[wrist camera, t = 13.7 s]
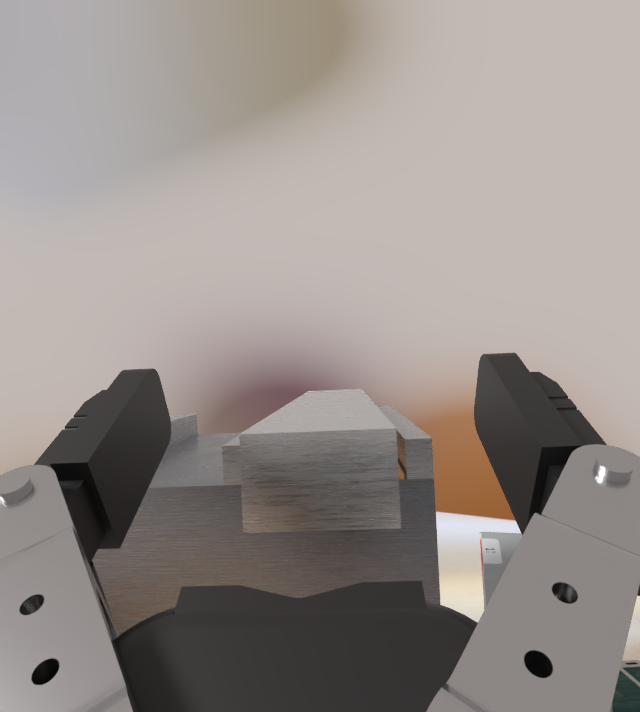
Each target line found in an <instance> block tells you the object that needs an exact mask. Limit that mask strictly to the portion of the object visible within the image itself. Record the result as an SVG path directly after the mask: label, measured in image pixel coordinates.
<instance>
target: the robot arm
mask: <svg viewBox="0 0 640 712" xmlns="http://www.w3.org/2000/svg"><path fill="white" fill-rule="evenodd" d="M474 419H475V426H476V430H477V433H478V435H479V438H480V440H481V442H482V445H483V447H484V449H485V452H486V454H487V456H488V458H489V461H490V463H491V465H492V467H493V469H494V472H495V474H496V476H497V478H498V481H499V483H500V485H501V488H502V490H503V492H504V494H505V497H506V499H507V501H508V503H509V506H510V508H511V511H512V513H513V515H514V517H515V520H516V522H517V524H518V526H519V529H520V531H521V533H522V538H521V539H520V541H519V543H518V545H517V547H516V549H515V551H514V553H513V555H512V557H511V559H510V561H509V563H508V565H507V567H506V569H505V571H504V573H503V575H502V577H501V579H500V581H499V583H498V585H497V587H496V589H495V591H494V593H493V595H492V597H491V598H490V600H489V602H488V604H487V606H486V608H485V610H484V612H483V614H482V616H481V618H480V620H479V622H478V623H477V622H475V621H474V620H472V619H470V618H469V617H467V616H465V615H463V614H461V613H459V612H457V611H455V610H453V609H450V608H448V607H445V606H442V605H439V604H436V603H432V602H428V601H425V596H424V590H423V585H422V581H395V582H361V583H357V584H353V585H350V586H346V587H342V588H338V589H335V590H331V591H327V592H323V593H320V594H316V595H312V596H308V597H304V598H294V597H289V596H285V595H280V594H276V593H271V592H267V591H263V590H258V589H254V588H250V587H245V586H241V585H227V586H185V587H181V590H180V594H179V597H178V600H177V604H176V607H175V608H171V609H168V610H165V611H163V612H160V613H157V614H155V615H153V616H151V617H149V618H147V619H145V620H143V621H141V622H139V623H137V624H136V625H134V626H132V627H131V628H129V629H128V630H126V631H125V632H123V633H122V634H121V635H120V633H119V631H118V628H117V625H116V623H115V620H114V617H113V614H112V612H111V609H110V606H109V603H108V601H107V598H106V595H105V592H104V590H103V587H102V584H101V581H100V579H99V576H98V573H97V570H96V568H95V565H94V563H93V561H92V559H93V557H94V556H95V554H96V552H97V550H98V549H118V548H120V547H121V545H122V543H123V541H124V539H125V536H126V534H127V532H128V530H129V528H130V526H131V524H132V522H133V519H134V517H135V515H136V513H137V511H138V509H139V507H140V505H141V502H142V500H143V498H144V496H145V494H146V492H147V490H148V488H149V485H150V483H151V481H152V479H153V477H154V475H155V473H156V471H157V468H158V466H159V464H160V462H161V460H162V458H163V456H164V454H165V451H166V449H167V447H168V445H169V442H170V438H171V421H170V416H169V412H168V408H167V405H166V401H165V397H164V393H163V389H162V385H161V382H160V378H159V375H158V373H157V371H156V370H155V369H135V370H123V371H121V373H120V374H119V375H118V377H117V378H116V379H115V380H114V381H113V383H112V384H111V385H110V387H109V388H108V389H107V390H102V391H101V392H99V393H98V394H96V395H95V396H93V397H92V398H90V399H89V400H87V401H86V402H85V403H84V404H83V405H82V406H81V408H80V409H79V410H78V411H77V412H76V414H75V415H74V418H72V419H71V420H70V421H69V422H68V423H67V425H66V426H65V430H62V431H61V432H60V433H59V435H58V436H57V437H56V438H55V439H54V441H53V442H52V443H51V444H50V446H49V447H48V448H47V449H46V450H45V452H44V453H43V454H42V455H41V457H40V458H39V459H38V460H37V462H36V463H35V464H34V465H29V466H24V467H20V468H17V469H14V470H11V471H9V472H7V473H4V474H2V475H0V712H610V709H611V705H612V701H613V696H614V692H615V688H616V684H617V679H618V675H619V671H620V666H621V662H622V658H623V654H624V649H625V645H626V641H627V636H628V632H629V628H630V623H631V619H632V615H633V611H634V606H635V602H636V598H637V595H638V596H640V457H639V456H637V455H635V454H633V453H631V452H629V451H626V450H624V449H621V448H617V447H614V446H608V445H606V443H605V442H604V441H603V440H602V438H601V437H600V436H599V435H598V433H597V432H596V431H595V430H594V428H593V427H592V426H591V425H590V423H589V422H588V421H587V420H586V419H585V417H584V416H583V415H582V413H581V412H580V411H579V410H577V408H576V406H575V405H574V404H573V402H572V401H571V400H570V399H568V396H567V395H566V393H565V392H564V391H563V390H562V388H561V387H560V386H559V385H558V383H556V382H555V381H553V380H551V379H550V378H548V377H547V376H545V375H543V374H542V373H540V372H529V370H528V369H527V368H526V366H525V365H524V364H523V362H522V361H521V359H520V358H519V357H518V356H517V354H516V353H501V354H499V353H498V354H483V355H482V356H481V358H480V361H479V369H478V378H477V388H476V397H475V407H474Z"/></svg>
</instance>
